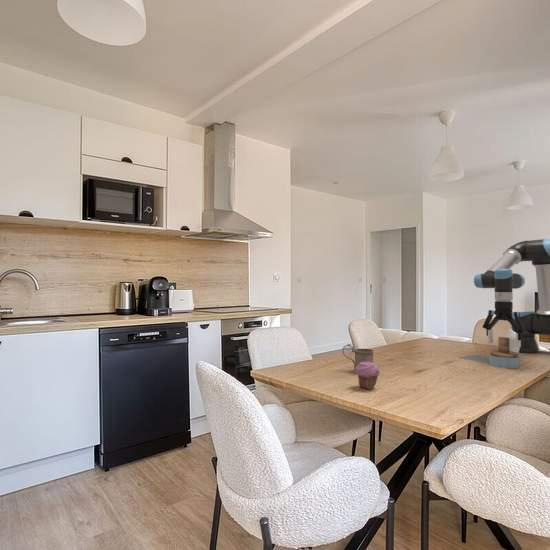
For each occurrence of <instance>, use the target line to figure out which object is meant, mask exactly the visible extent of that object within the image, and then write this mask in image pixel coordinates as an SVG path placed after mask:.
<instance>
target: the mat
mask: <svg viewBox="0 0 550 550" xmlns="http://www.w3.org/2000/svg"><path fill="white" fill-rule="evenodd" d="M458 358H459V359H465V360H469V361H473V362H479V363H487V362H488V363H489V357H488V356H487V357H486V356H481V355H475V354H473V355H467V356H458Z"/></svg>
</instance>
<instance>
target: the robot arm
mask: <svg viewBox="0 0 550 550" xmlns="http://www.w3.org/2000/svg"><path fill="white" fill-rule="evenodd" d="M522 262H531V265H532V266H533V267H534V268H535V275H536V287H537V298H538V299H537V300H538V310H536V312H535V310H533V311H532V310H531V311H514V310H513V309H514V308H513V306H514V305H513V290H514V289H516V290H517V289H520V288H522V287H523V286H525V282H526V280H525V277H524V276H523V275H522V274H520V273H513V269H512V267H513V266H515V265H517V264H519V263H522ZM473 285H474V286H475V287H476V288H478V289H494V309H495V310H493V309H489V310H488V312H487V313H488V314H487V316H486V318H485V321H484V323H483V325H482V329H485V330H486V337H487V344H494V338H493V337H494V335H493V334H494V332H493V331H494V330H493V327H494V326H495V325H496V324H497V323H498V322H499V321H507V322H508V323H509V324H510V325H511V329H512V330H513V331H514V332H516V347H519V349H520V350H519V353H526V354H535V353H536V354H537V353H540V348H539V346H538V345H539V344H538V343H537V340H536V335H540V336H541V335H542V336H550V238H543V239H533V240H532V239H531V240H523V241H519V242H517V243H515V244H513V245H510V247H508V248H507V249H505V251H503V252H502V255H501V257H500V258H498V260H496V262H494V264H492V265H491V266H490V267H489V268H488V269H487V270H486V271H485V272H483V273H478V274H475V276H474V278H473ZM513 311H514V312H513ZM494 315H495V316H494Z"/></svg>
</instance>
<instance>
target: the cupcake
mask: <svg viewBox="0 0 550 550" xmlns="http://www.w3.org/2000/svg"><path fill="white" fill-rule="evenodd" d="M355 371H356V373H355V374H356V375H357V376H358V377H357V378H358V386H359V387H360V388H362V389H365V390H369V391H370V390H372V389H373V388H375V386H376V384H377V381H378V376H380V369H379V367H378V365H377V364H376V363H375V362H373V363H372V362H361V363H360V364H359V365H357V367H356V370H355Z"/></svg>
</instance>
